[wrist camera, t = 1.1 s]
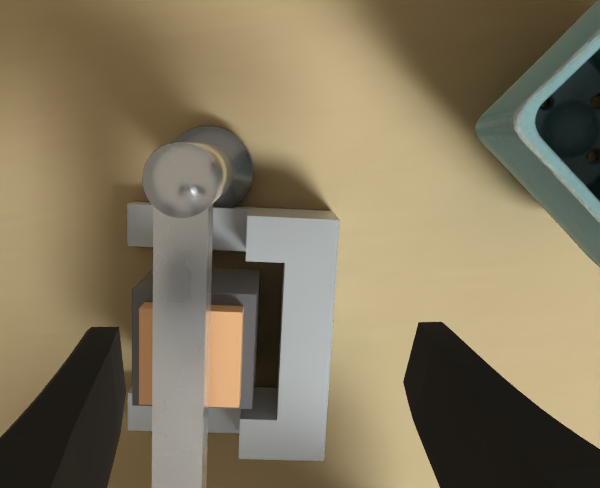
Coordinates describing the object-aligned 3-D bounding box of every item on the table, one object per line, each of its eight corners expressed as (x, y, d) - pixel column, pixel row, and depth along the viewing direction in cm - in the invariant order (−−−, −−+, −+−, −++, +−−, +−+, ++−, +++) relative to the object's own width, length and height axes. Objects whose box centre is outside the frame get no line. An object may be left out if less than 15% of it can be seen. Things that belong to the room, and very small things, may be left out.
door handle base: (252, 214, 24) (251, 216, 23) (167, 210, 23) (164, 211, 23) (255, 128, 23) (254, 128, 22) (168, 124, 23) (165, 123, 22)
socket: (318, 424, 25) (323, 461, 23) (133, 419, 25) (114, 455, 22) (332, 210, 24) (339, 220, 21) (133, 201, 23) (112, 209, 20)
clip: (226, 427, 24) (209, 520, 18) (175, 425, 24) (141, 518, 18) (235, 144, 22) (219, 144, 16) (179, 141, 22) (142, 140, 16)
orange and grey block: (256, 365, 25) (250, 419, 20) (156, 362, 25) (126, 415, 20) (260, 269, 24) (255, 300, 19) (157, 264, 24) (126, 295, 19)
